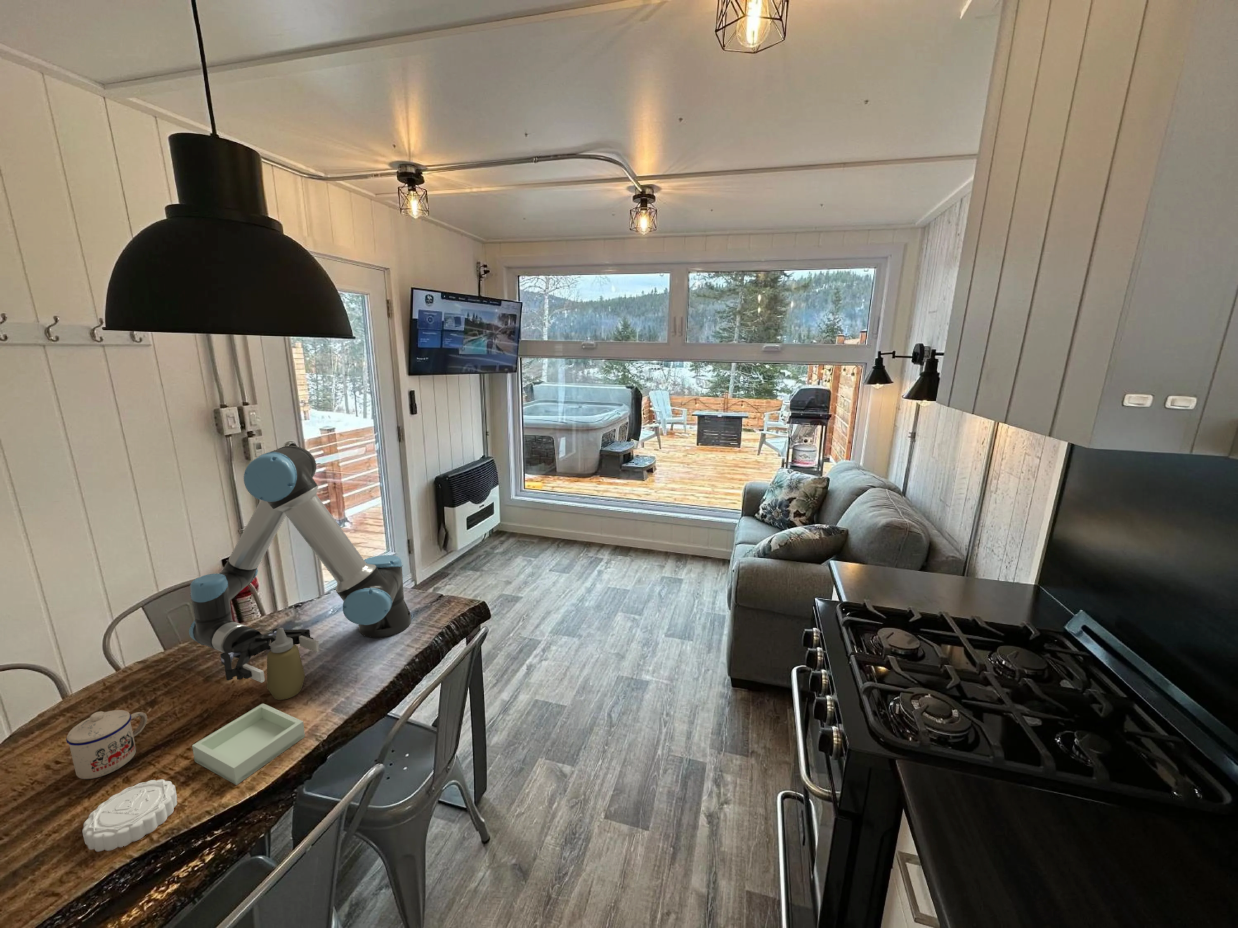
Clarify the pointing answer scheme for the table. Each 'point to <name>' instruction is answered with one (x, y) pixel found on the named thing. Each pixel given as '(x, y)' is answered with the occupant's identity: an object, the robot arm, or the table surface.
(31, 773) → the table surface
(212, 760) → the tray
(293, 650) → the squeeze bottle
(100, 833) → the mooncake
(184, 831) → the table surface
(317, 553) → the robot arm
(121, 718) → the teacup with lid
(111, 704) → the table surface
